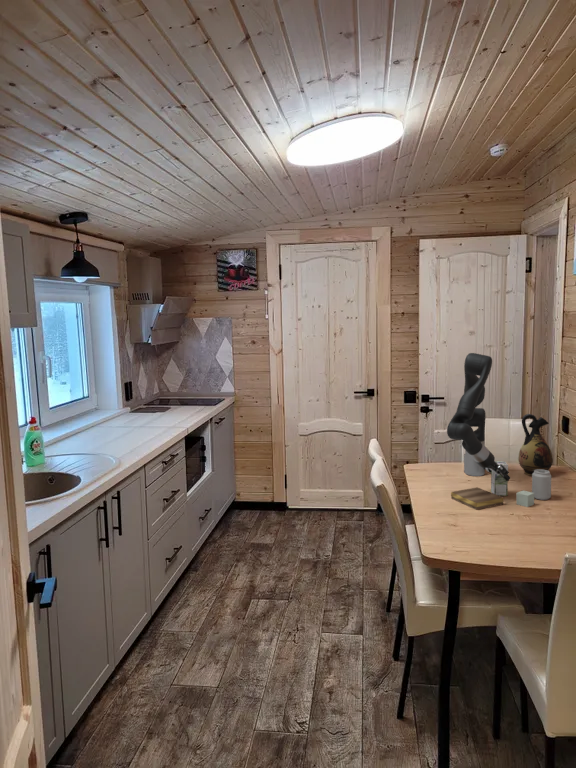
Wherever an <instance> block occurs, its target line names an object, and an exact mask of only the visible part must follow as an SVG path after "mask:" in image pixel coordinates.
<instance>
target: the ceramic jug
mask: <svg viewBox="0 0 576 768" xmlns="http://www.w3.org/2000/svg"><path fill="white" fill-rule="evenodd" d="M529 419H531V420H532V421H531V422H530V423H529V424H528V428H531V432H529V430H528V428H527V424H526V421H527V420H529ZM521 425H522V428H523V431H524V434H525V437H524V442H523V443H522V445H521V446H520V449H519V452H518V458H517V459H518V464H519V466H520V468H522V470H523V471H524V475H527V476H530V477H532V474H533V473H534V470H537V469H543V470H548V471H549V470H550V469H551V467H552V466H553V464H554V463H553V461H554V458H553V453H552V450H551V447H550V445H549V444H548V443H547V441H546V440H545V438H544V437H543V435H542V434H541V431H540V429H541V428H542V427H544V426H547V425H549V422H548V421H547V419H545V418H543V417H539V418H538V419H537V417H536V416H535V415H534V414H533V413H532V414H531V413H527V414H524V415H523V417H522V418H521Z"/></svg>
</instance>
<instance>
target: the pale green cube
mask: <svg viewBox="0 0 576 768" xmlns="http://www.w3.org/2000/svg"><path fill="white" fill-rule="evenodd" d="M515 495H516V499H515V500H516V505H517V506H518V505H519V506H522V507H525V508H529V507H531V506H533V505H535V498H534V493H532V491H527V490H524V489H523V490H521V491H517V492H516V494H515Z"/></svg>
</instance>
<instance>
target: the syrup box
mask: <svg viewBox="0 0 576 768" xmlns="http://www.w3.org/2000/svg"><path fill="white" fill-rule="evenodd" d="M494 461H495V462H496V463H497V464H498V465H500V464H502V465H503V466H504V467H505V468H506V470H507V471H508V472H509V464H508V463H507V462H506V461H503V460H500V461H499V460H497V461H496V460H494ZM497 472H498V469H497ZM500 473H501V472H500ZM490 474H491V476H490V477H491V479H490V492H491V493H493V494H496V495H498V496H501V497H507V496H508V489H509V488H508V487H509V485H508V484H509V483H508V482H509V481H506V480H505V479H504V478H503V477H502V476H501V475H500V474H497V473H495V472H494V471H492V470H491V473H490ZM501 474H502V473H501Z"/></svg>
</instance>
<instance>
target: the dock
mask: <svg viewBox="0 0 576 768" xmlns="http://www.w3.org/2000/svg"><path fill="white" fill-rule="evenodd" d="M450 496H451V499H452V500H454V501H456V502H458V503H461V504H463V505H465V506H467V507H470V508H472V509H474V510H476V511H477V510H478V511H479V510H481V509H482V510H483V509H487V508H493V507H496V506H501V505H502V506H503V505H504V496H498V495H496V494H493V493H492V492H491V491H488V490H485V489H483V488H481V487H478V486H477V487H471V488H466V489H461V490H454V491H451V492H450Z"/></svg>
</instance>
